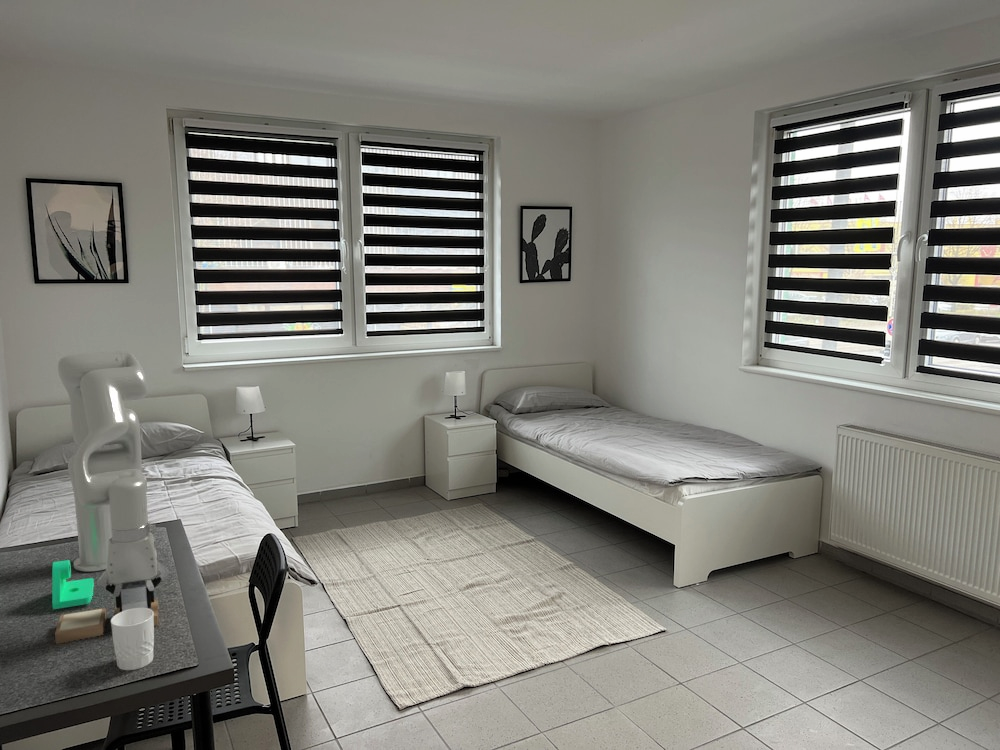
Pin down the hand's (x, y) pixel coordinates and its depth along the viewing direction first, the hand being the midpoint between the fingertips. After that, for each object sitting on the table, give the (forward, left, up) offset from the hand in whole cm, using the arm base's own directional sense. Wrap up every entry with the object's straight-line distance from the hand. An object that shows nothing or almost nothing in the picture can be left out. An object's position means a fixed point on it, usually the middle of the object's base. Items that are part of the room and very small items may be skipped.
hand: (135, 607), depth 166 cm
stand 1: (0, -11, -3) cm, 12 cm away
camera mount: (-18, -14, -4) cm, 23 cm away
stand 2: (0, 0, -3) cm, 3 cm away
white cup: (+19, +1, -4) cm, 19 cm away
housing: (0, 0, -1) cm, 1 cm away
